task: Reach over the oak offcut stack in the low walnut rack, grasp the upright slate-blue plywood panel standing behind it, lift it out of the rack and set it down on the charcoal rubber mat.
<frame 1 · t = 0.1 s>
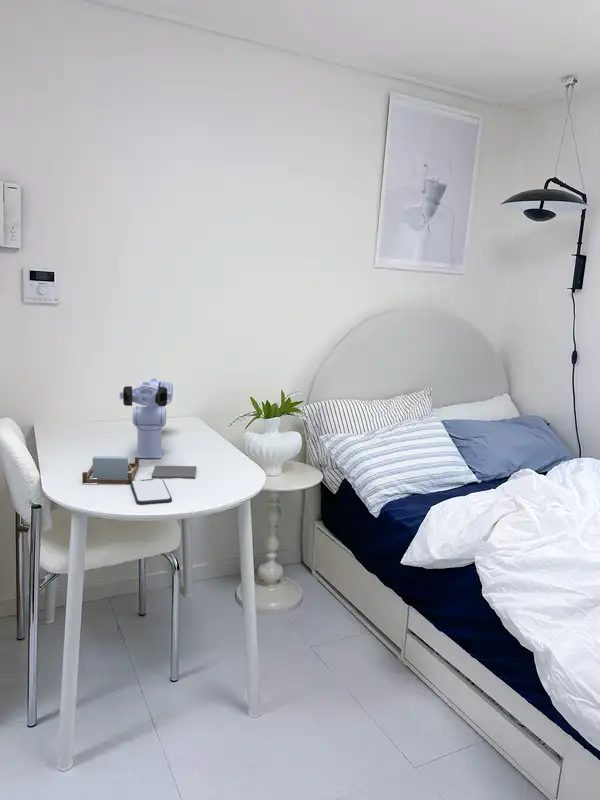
hand: (142, 398, 163), 22 cm above the table, tool horizontal, fingers open, 7 cm apart
phone case: (150, 495, 152), on the table
panel: (110, 478, 162), resting in rack
rack: (112, 475, 164), on the table
mat: (174, 473, 169), on the table
offcut stack: (115, 469, 169), resting in rack
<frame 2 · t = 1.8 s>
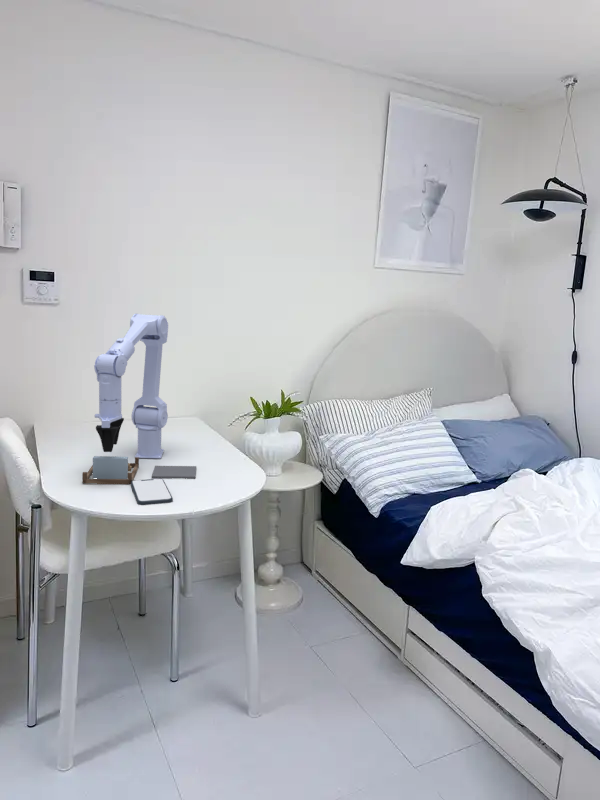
hand: (110, 447, 160), 9 cm above the table, tool pointing down, fingers open, 7 cm apart
nothing on the table moved.
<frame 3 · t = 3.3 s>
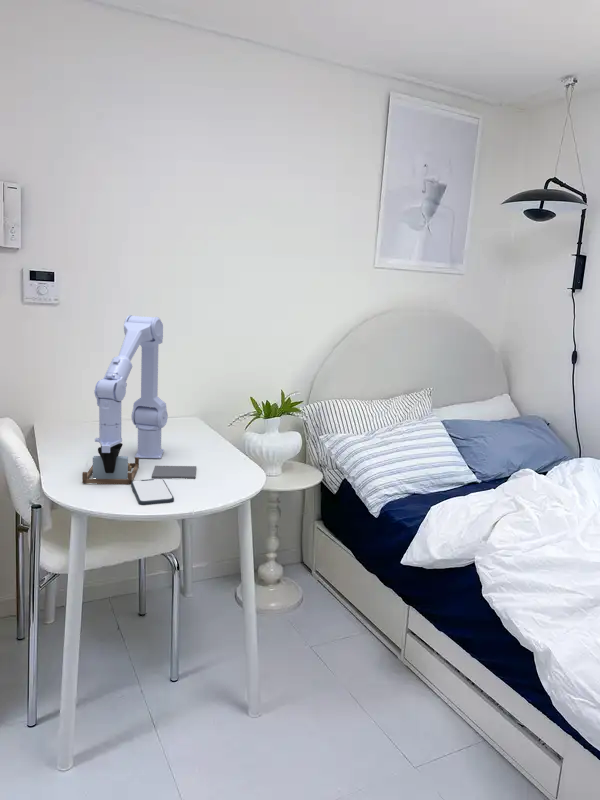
hand: (110, 471, 162), 2 cm above the table, tool pointing down, fingers closed on panel, 2 cm apart
panel: (110, 478, 162), resting in rack, touching gripper
everything else where it was.
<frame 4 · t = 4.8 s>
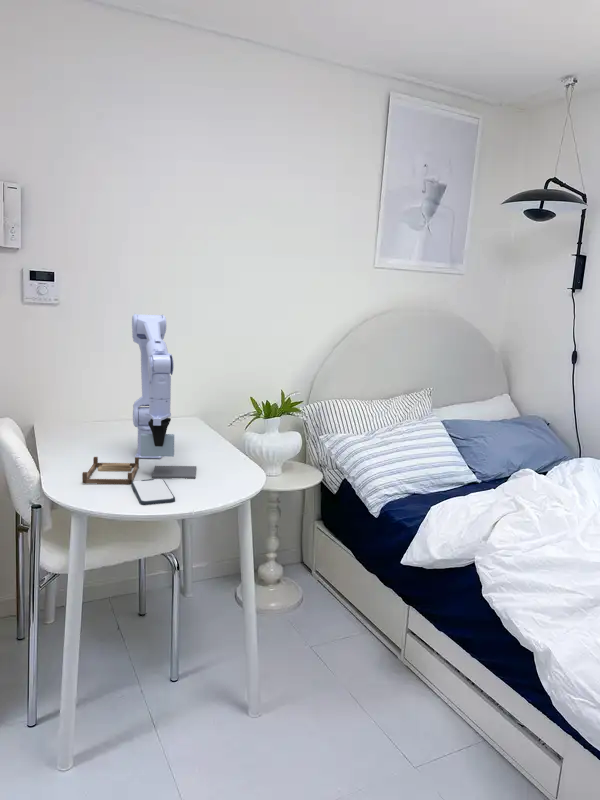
hand: (159, 444, 166), 9 cm above the table, tool pointing down, fingers closed on panel
panel: (157, 455, 166), point 6 cm above the table, touching gripper
everything else where it was.
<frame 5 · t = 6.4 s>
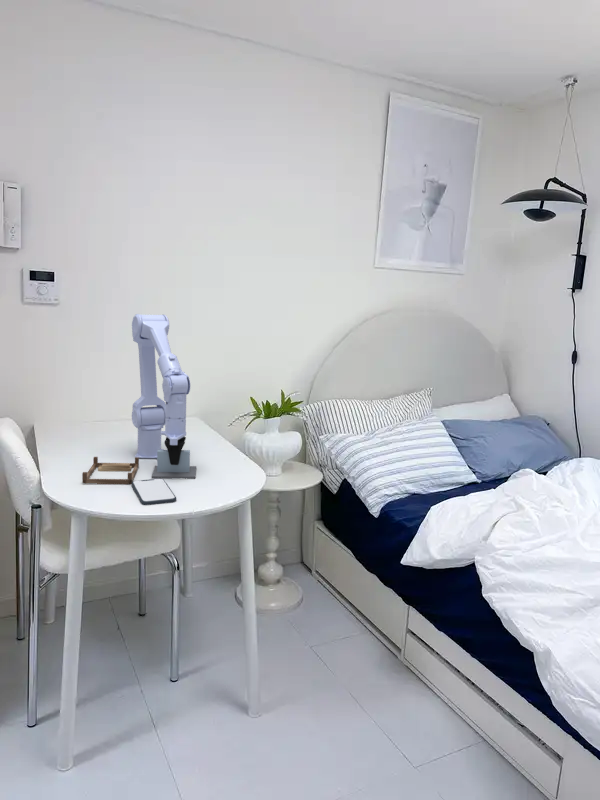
hand: (174, 463, 169), 3 cm above the table, tool pointing down, fingers closed on panel, 2 cm apart
panel: (173, 471, 169), point 1 cm above the table, touching gripper, mat
everything else where it was.
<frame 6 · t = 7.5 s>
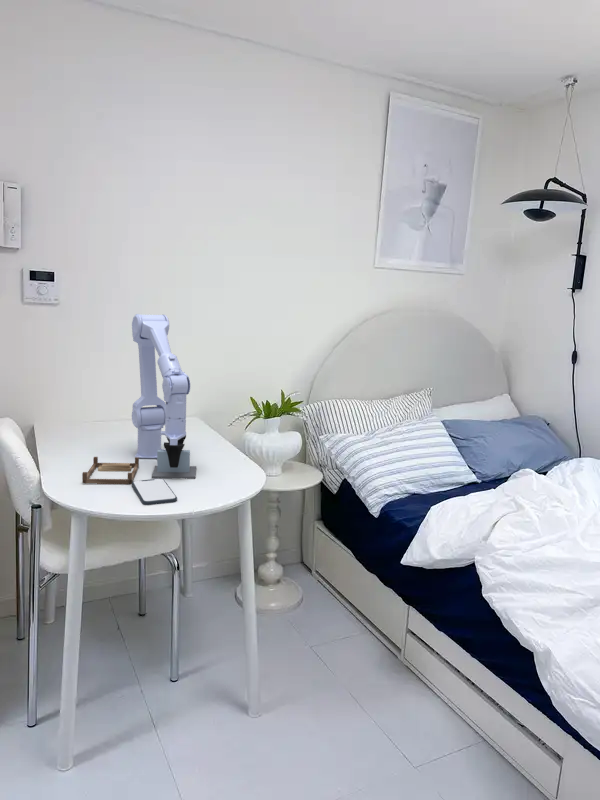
hand: (174, 463, 169), 3 cm above the table, tool pointing down, fingers open, 7 cm apart
panel: (173, 471, 169), point 1 cm above the table, touching mat
everything else where it was.
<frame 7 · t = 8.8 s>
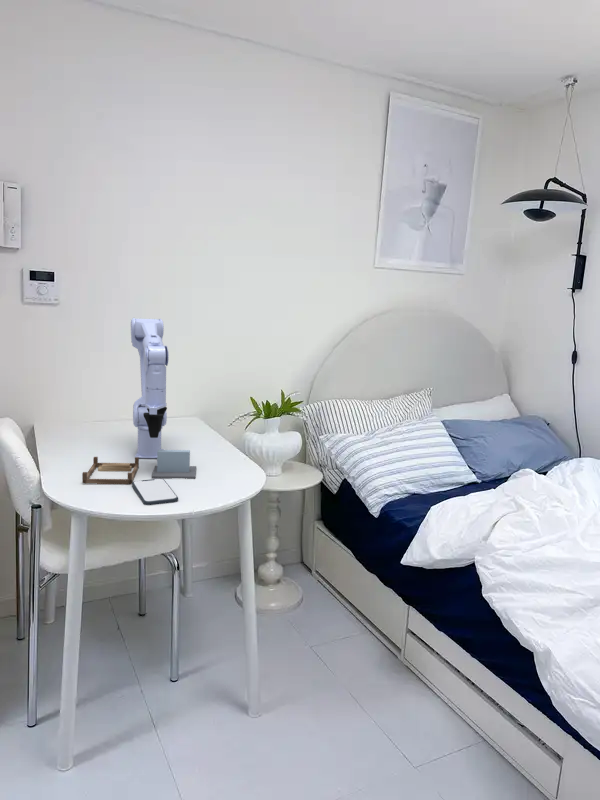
hand: (155, 434, 170), 10 cm above the table, tool pointing down, fingers open, 7 cm apart
nothing on the table moved.
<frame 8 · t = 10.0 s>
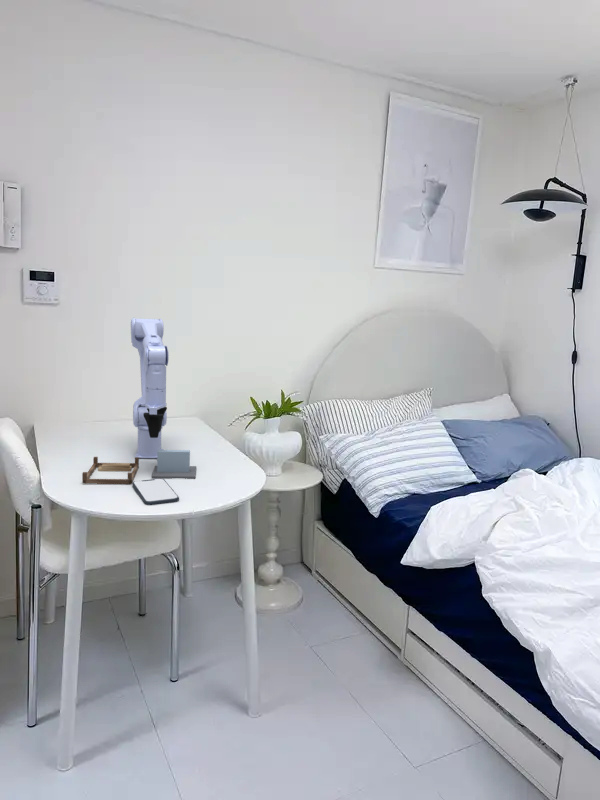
hand: (155, 434, 170), 10 cm above the table, tool pointing down, fingers open, 7 cm apart
at the end: panel inside the target area on the mat (0.3 cm from its centre), point 0.6 cm above the mat's base; panel moved 17.4 cm from its start; the gripper is holding nothing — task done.
